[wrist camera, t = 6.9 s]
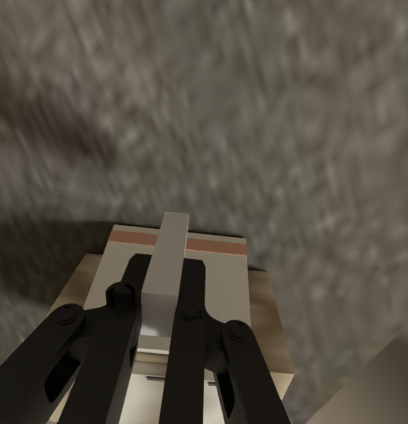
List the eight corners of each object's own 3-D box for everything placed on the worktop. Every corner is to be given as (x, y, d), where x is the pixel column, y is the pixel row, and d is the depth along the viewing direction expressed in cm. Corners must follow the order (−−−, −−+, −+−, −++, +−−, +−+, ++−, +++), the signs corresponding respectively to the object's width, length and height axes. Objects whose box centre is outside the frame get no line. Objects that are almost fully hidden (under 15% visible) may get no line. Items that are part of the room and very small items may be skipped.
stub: (73, 345, 18) (69, 341, 17) (115, 229, 25) (114, 223, 24) (250, 361, 18) (253, 358, 18) (243, 243, 25) (245, 238, 25)
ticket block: (95, 320, 31) (44, 434, 22) (86, 252, 26) (15, 363, 17) (248, 334, 32) (263, 452, 22) (267, 271, 27) (298, 388, 17)
